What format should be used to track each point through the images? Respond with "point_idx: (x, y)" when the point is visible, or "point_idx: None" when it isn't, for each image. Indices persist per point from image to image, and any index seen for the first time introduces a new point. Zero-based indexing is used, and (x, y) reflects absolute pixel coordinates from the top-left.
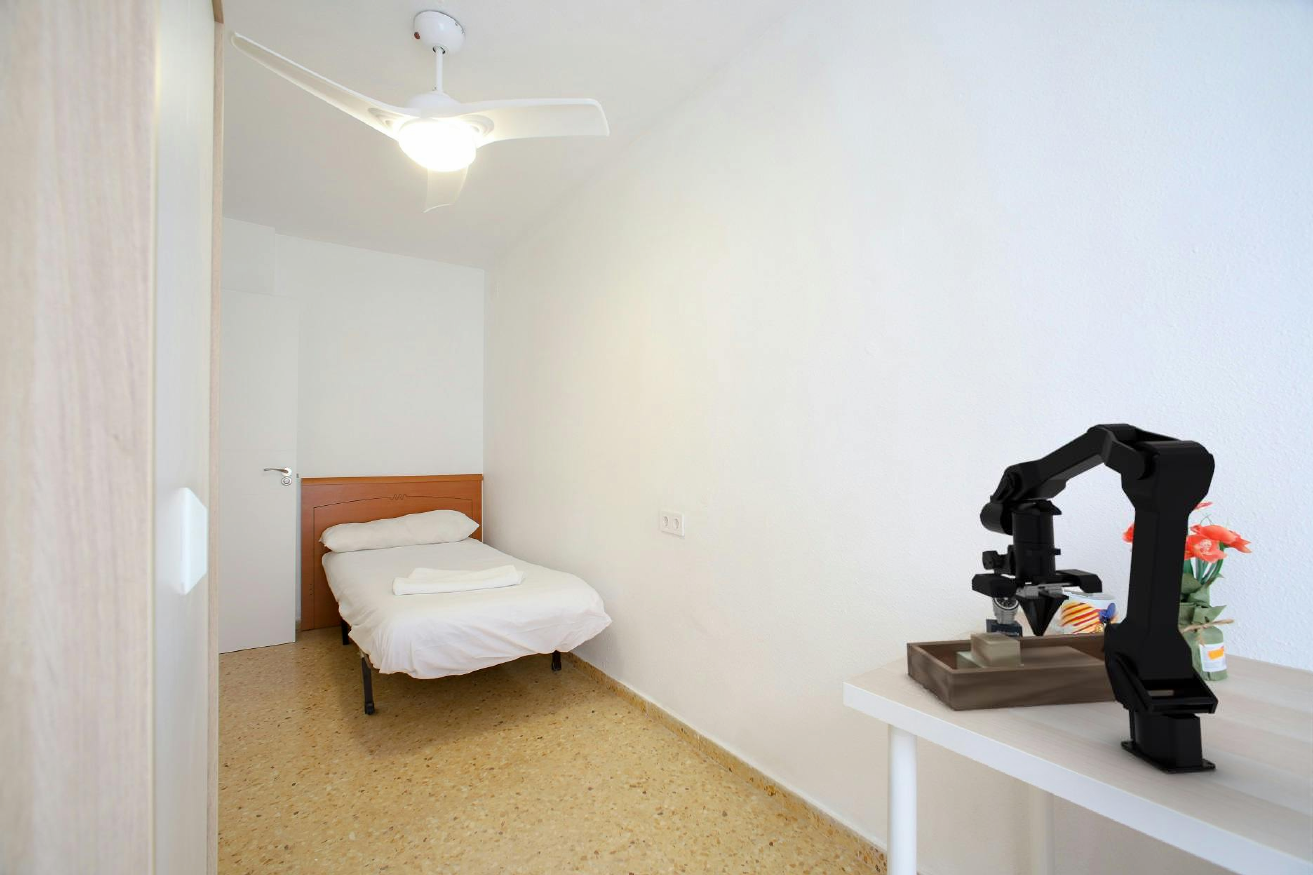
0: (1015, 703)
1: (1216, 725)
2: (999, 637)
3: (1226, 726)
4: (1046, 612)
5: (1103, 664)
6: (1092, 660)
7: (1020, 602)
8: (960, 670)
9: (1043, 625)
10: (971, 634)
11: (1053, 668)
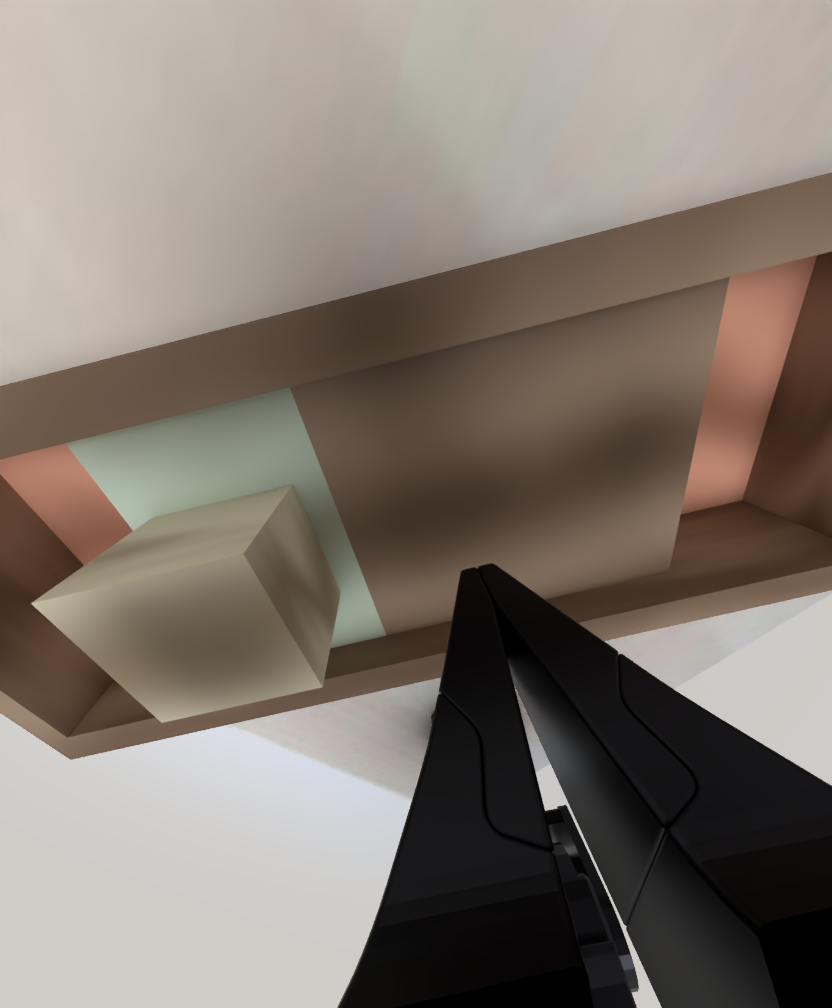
0: None
1: (655, 631)
2: (228, 643)
3: (668, 632)
4: (586, 831)
5: None
6: (651, 498)
7: (400, 933)
8: (94, 738)
9: (514, 680)
10: (42, 611)
11: (413, 679)
